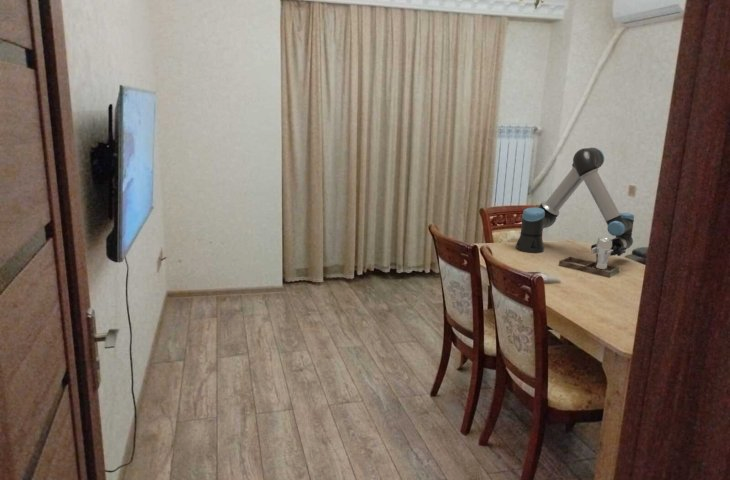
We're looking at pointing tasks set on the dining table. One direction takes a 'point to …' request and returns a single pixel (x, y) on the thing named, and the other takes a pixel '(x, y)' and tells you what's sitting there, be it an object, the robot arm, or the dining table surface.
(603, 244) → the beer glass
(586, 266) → the two-cell rack
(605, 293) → the dining table surface
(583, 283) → the dining table surface
